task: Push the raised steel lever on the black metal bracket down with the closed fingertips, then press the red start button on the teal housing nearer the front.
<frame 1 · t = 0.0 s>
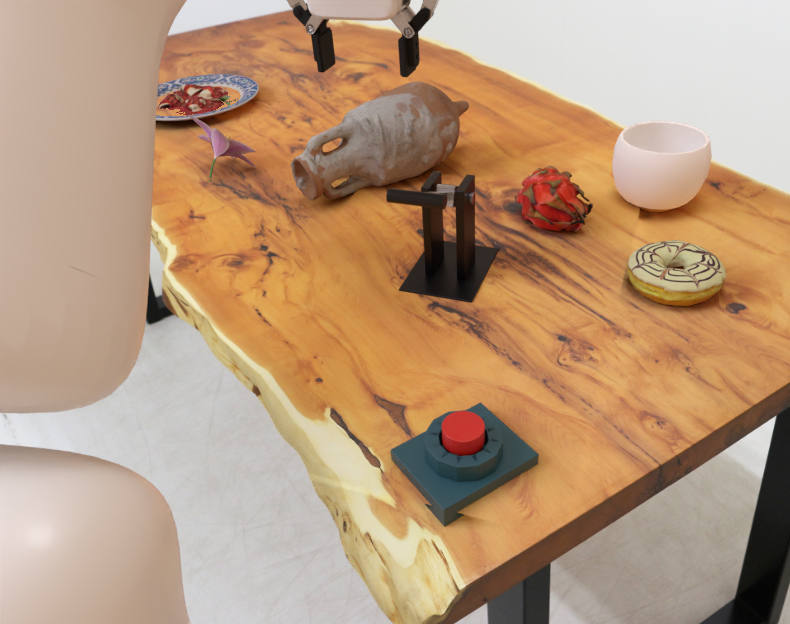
hand: (367, 70, 77), 24 cm above the table, tool pointing down, fingers open, 9 cm apart
lever: (434, 196, 76), point 13 cm above the table, hinge at 25.0°
bracket: (450, 276, 88), on the table
lily: (229, 172, 117), on the table
button box: (463, 468, 63), on the table
decorated donut: (672, 286, 83), on the table
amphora: (390, 178, 111), on the table
cup: (653, 204, 99), on the table
ceramic plate: (197, 106, 144), on the table
button: (463, 433, 60), point 4 cm above the table, slide at 0.1 cm
dragon fruit: (552, 228, 96), on the table
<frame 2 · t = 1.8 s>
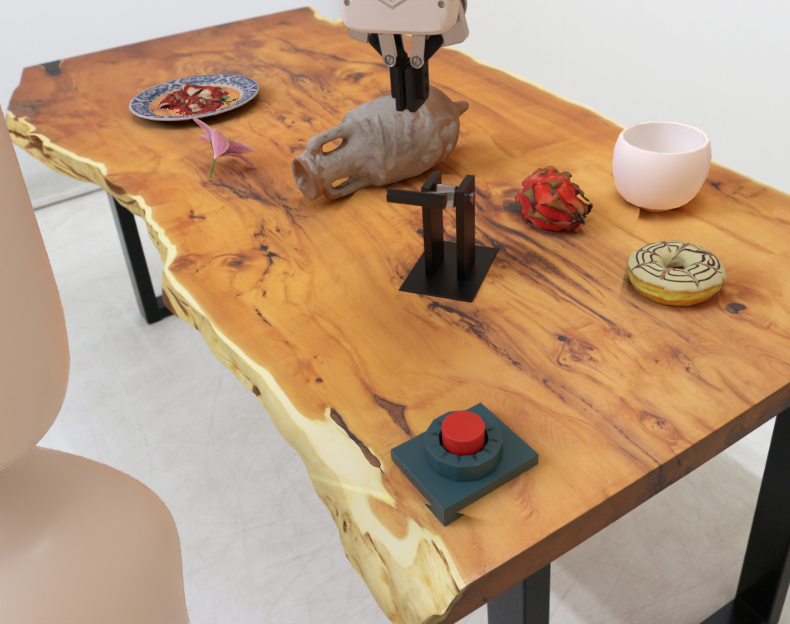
hand: (411, 106, 65), 25 cm above the table, tool pointing down, fingers closed
nothing on the table moved.
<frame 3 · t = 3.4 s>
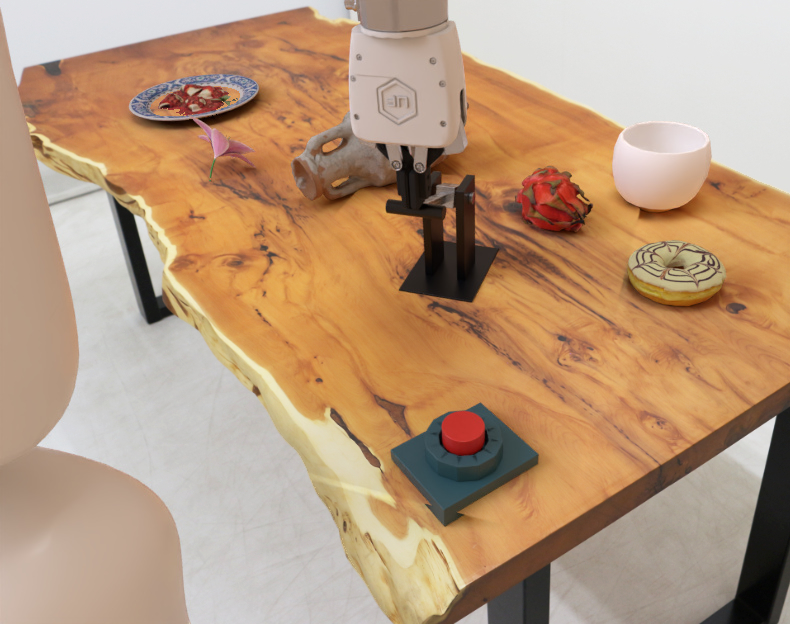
hand: (415, 202, 71), 15 cm above the table, tool pointing down, fingers closed
lever: (434, 201, 77), point 13 cm above the table, hinge at 19.2°, touching gripper
everything else where it was.
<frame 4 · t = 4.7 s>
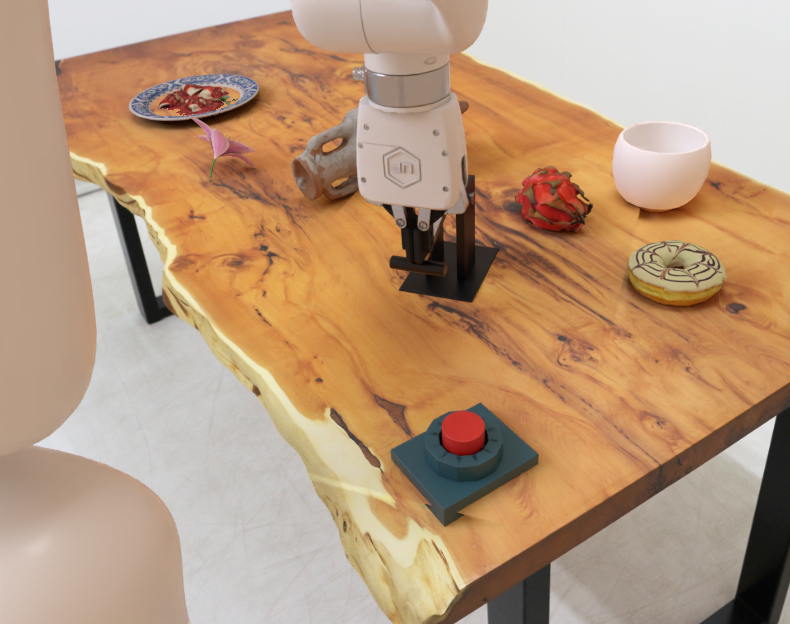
hand: (418, 255, 75), 9 cm above the table, tool pointing down, fingers closed
lever: (434, 227, 78), point 10 cm above the table, hinge at -15.4°, touching gripper
everything else where it was.
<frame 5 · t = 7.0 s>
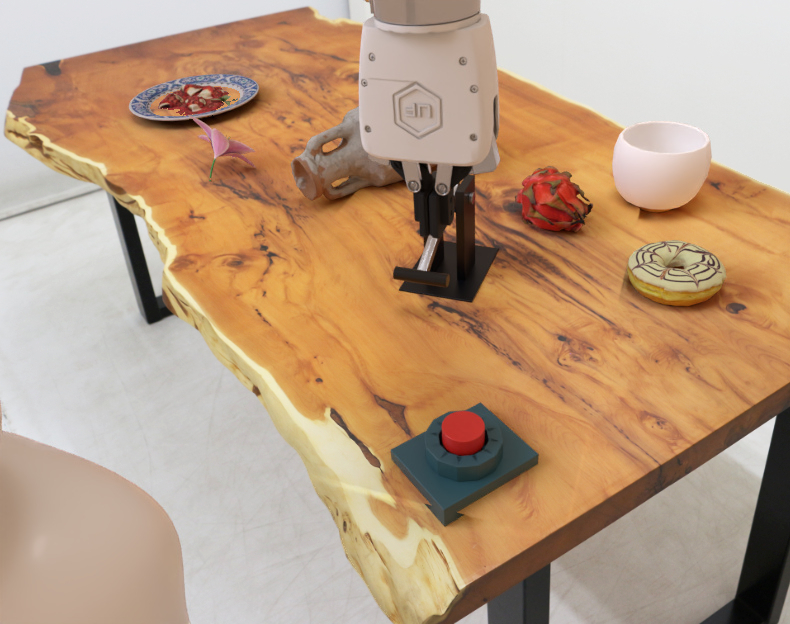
hand: (434, 229, 60), 18 cm above the table, tool pointing down, fingers closed
lever: (436, 232, 79), point 9 cm above the table, hinge at -25.6°
everything else where it was.
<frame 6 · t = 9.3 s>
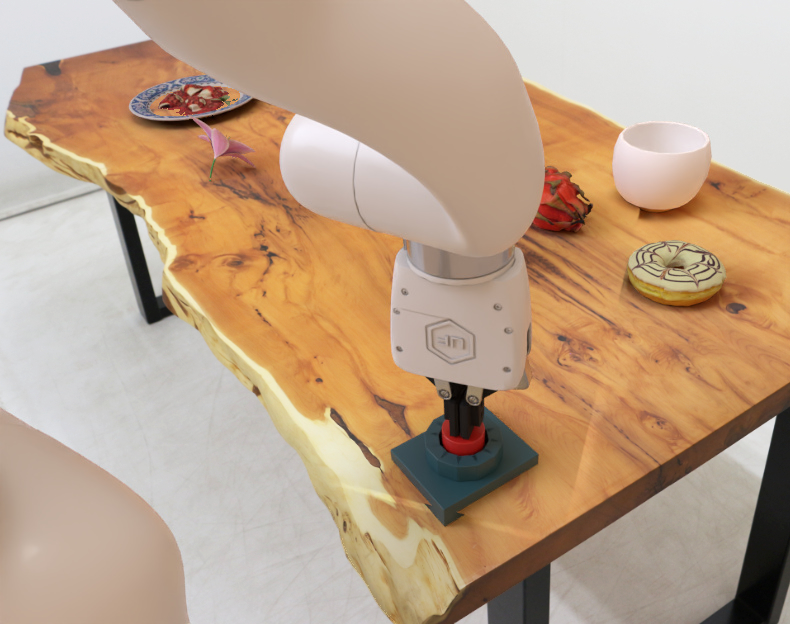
hand: (464, 425, 60), 5 cm above the table, tool pointing down, fingers closed
button: (463, 435, 60), point 4 cm above the table, slide at -0.2 cm, touching gripper
everything else where it was.
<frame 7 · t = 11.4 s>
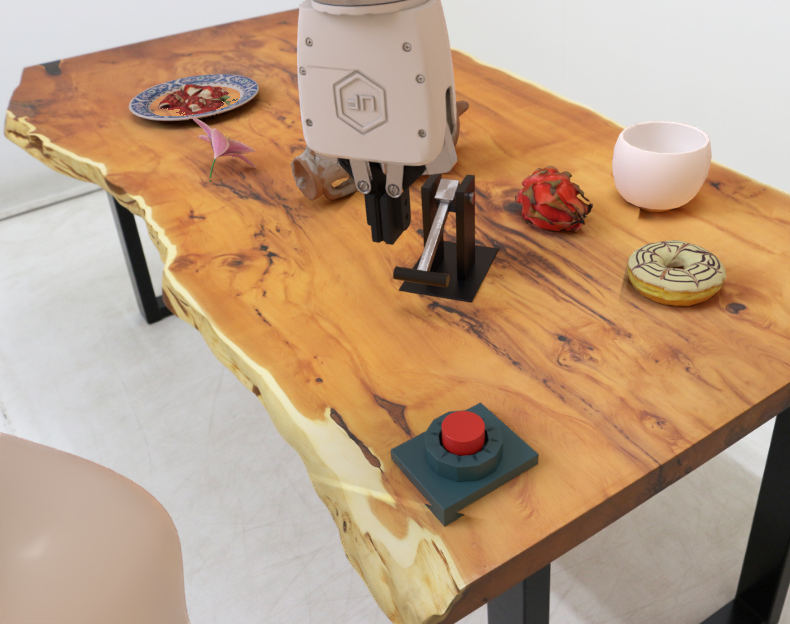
hand: (390, 234, 55), 21 cm above the table, tool pointing down, fingers closed
button: (463, 433, 60), point 4 cm above the table, slide at 0.1 cm
everything else where it was.
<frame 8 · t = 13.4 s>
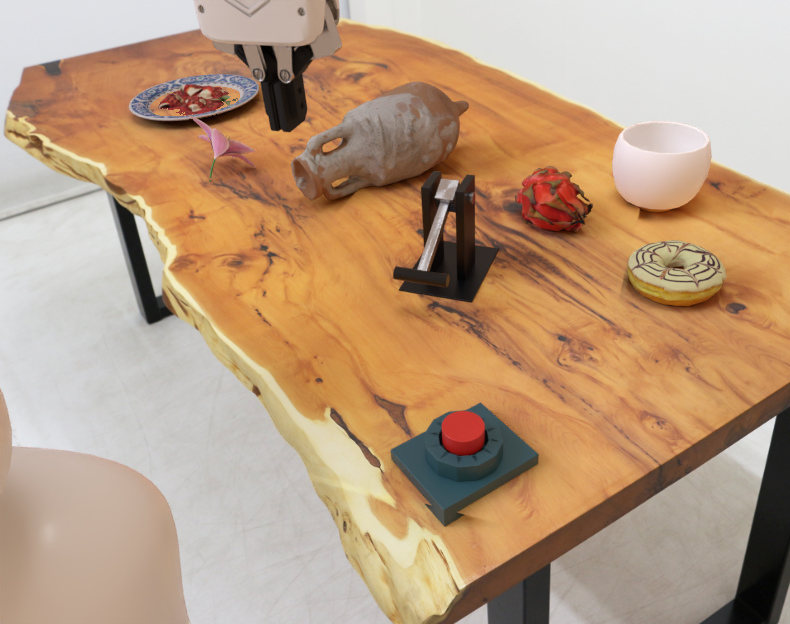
hand: (288, 125, 58), 27 cm above the table, tool pointing down, fingers closed
nothing on the table moved.
at the end: lever at -26° (first picture: +25°); button pushed in 1.1 cm at the most during the clip, back to where it started at the end; button slide at 0.1 cm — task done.
